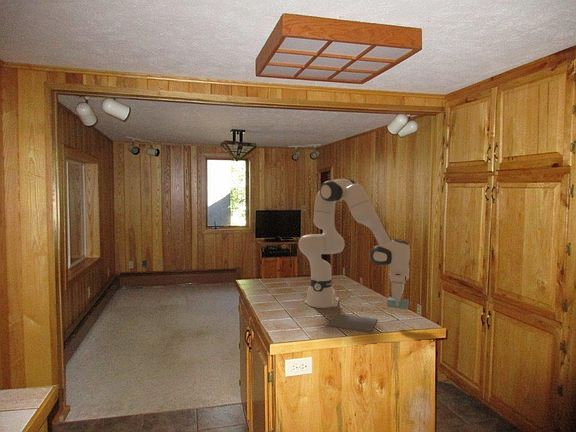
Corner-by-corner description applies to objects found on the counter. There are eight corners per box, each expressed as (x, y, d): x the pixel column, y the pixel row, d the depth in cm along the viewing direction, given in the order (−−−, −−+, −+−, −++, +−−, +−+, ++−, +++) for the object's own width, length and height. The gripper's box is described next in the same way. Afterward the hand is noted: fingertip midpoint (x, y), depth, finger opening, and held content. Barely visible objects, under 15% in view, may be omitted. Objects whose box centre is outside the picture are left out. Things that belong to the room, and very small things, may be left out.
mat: (336, 314, 193) (336, 313, 193) (377, 320, 186) (377, 319, 186) (326, 325, 177) (326, 324, 177) (370, 332, 169) (370, 331, 169)
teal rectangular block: (388, 304, 183) (388, 297, 182) (408, 307, 179) (408, 299, 179) (387, 306, 178) (387, 299, 178) (407, 309, 175) (407, 302, 175)
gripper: (394, 269, 188) (393, 296, 189) (389, 278, 169) (388, 308, 170) (407, 270, 186) (406, 298, 187) (404, 279, 167) (403, 310, 168)
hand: (397, 303), depth 179 cm, fingers closed on teal rectangular block, 5 cm apart
